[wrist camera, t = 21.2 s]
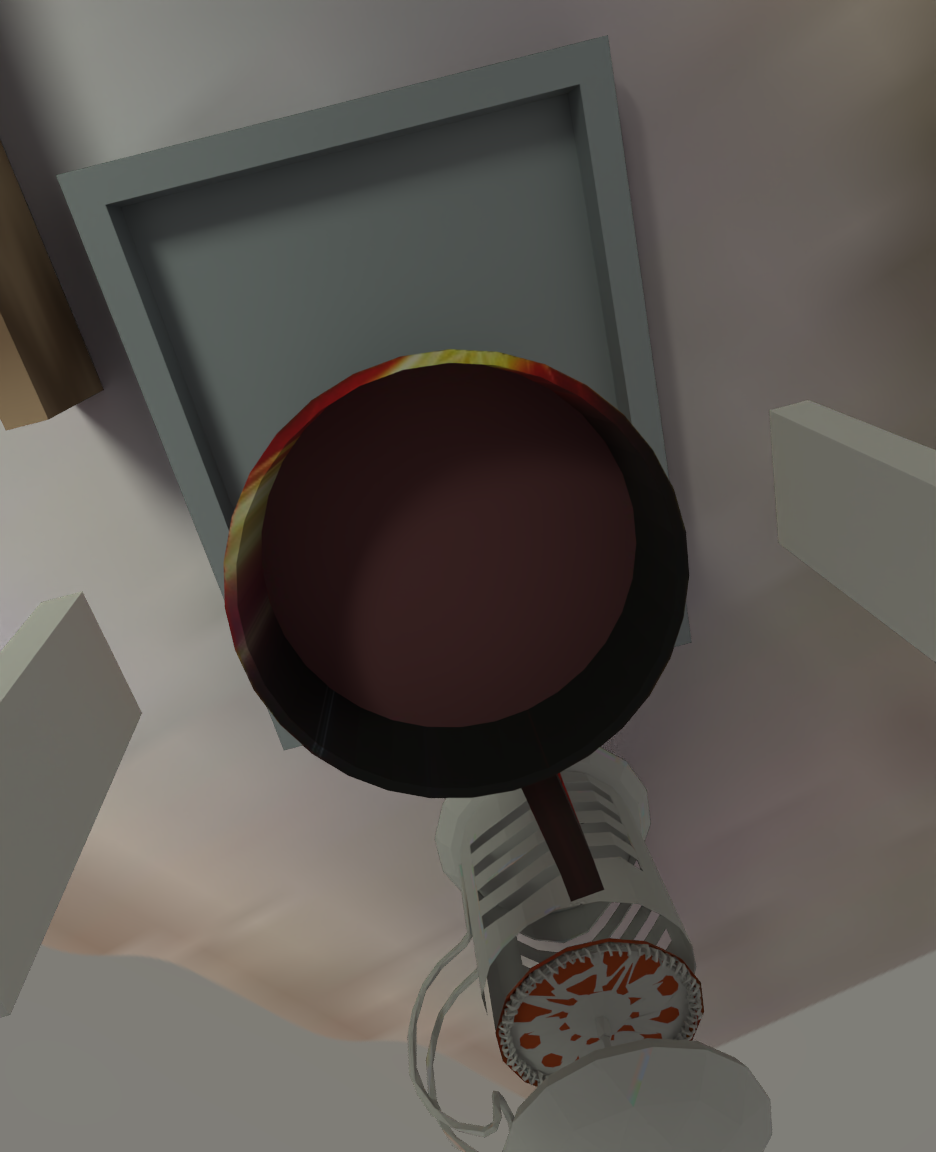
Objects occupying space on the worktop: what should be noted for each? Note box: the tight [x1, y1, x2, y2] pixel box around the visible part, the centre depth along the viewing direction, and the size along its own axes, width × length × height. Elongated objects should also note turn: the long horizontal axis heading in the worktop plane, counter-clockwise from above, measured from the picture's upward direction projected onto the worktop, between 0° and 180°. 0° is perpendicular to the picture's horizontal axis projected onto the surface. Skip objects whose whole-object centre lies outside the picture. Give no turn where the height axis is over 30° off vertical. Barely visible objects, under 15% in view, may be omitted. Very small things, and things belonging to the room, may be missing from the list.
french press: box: [407, 747, 772, 1152], centre depth 24 cm, size 10×12×25 cm
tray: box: [56, 35, 691, 750], centre depth 27 cm, size 20×16×2 cm
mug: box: [224, 349, 689, 902], centre depth 23 cm, size 10×14×12 cm
